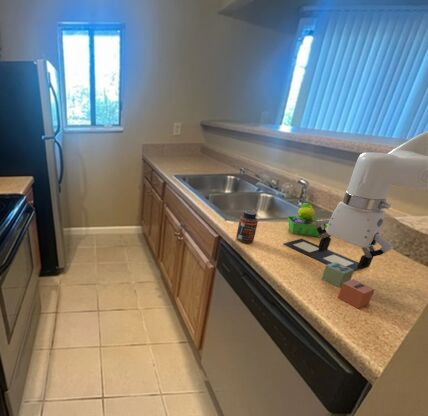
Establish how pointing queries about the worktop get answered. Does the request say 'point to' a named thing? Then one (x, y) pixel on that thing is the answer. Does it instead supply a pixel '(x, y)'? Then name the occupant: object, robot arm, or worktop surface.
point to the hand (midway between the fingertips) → (341, 258)
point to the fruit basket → (304, 221)
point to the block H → (337, 274)
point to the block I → (356, 293)
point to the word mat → (321, 253)
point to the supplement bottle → (247, 227)
